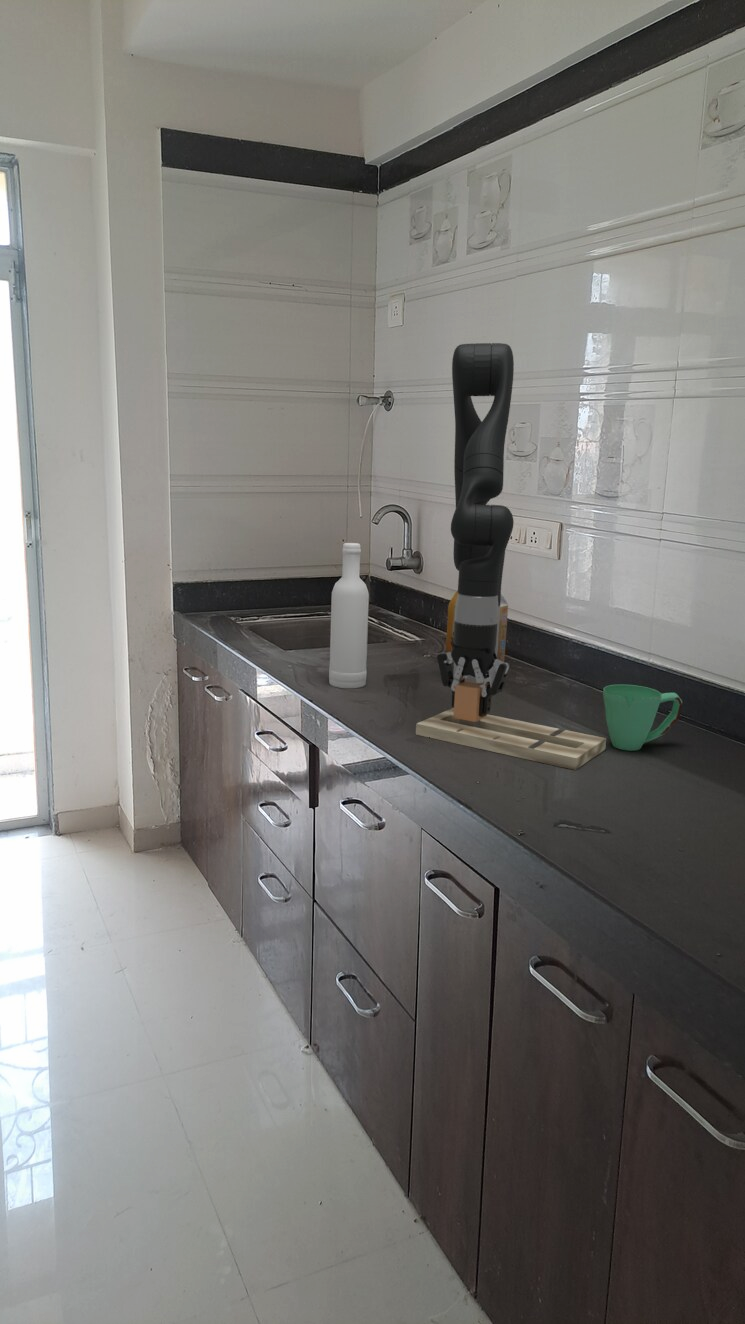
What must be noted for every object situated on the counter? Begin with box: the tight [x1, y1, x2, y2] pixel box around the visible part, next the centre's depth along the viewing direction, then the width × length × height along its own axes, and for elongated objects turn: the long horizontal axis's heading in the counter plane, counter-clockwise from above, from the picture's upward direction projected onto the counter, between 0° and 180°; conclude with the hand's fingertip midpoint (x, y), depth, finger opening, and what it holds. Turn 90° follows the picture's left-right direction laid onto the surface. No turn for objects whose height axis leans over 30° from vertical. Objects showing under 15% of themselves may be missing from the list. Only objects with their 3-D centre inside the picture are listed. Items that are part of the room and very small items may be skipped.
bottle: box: [328, 542, 370, 689], centre depth 200 cm, size 8×8×30 cm
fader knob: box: [453, 681, 487, 728], centre depth 170 cm, size 4×4×9 cm
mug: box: [602, 684, 683, 752], centre depth 167 cm, size 15×10×10 cm
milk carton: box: [445, 589, 509, 666], centre depth 227 cm, size 10×11×19 cm
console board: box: [415, 707, 607, 771], centre depth 167 cm, size 14×30×2 cm, turn 57°
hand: (470, 712), depth 171 cm, fingers closed on fader knob, 4 cm apart
